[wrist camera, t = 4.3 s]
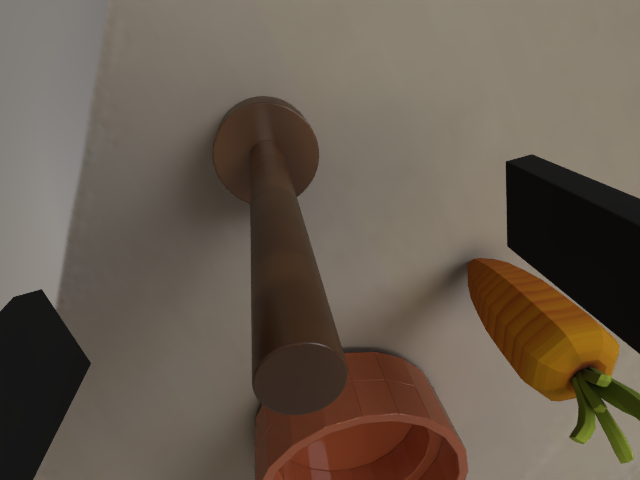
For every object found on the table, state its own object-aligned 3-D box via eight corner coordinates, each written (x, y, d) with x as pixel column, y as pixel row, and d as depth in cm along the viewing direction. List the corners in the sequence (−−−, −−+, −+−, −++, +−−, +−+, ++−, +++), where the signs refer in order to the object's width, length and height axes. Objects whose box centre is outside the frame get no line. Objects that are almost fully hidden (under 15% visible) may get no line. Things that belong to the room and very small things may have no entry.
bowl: (282, 495, 38) (288, 576, 33) (228, 379, 31) (224, 457, 25) (439, 447, 39) (473, 519, 33) (422, 323, 32) (460, 387, 26)
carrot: (485, 296, 31) (658, 485, 18) (428, 284, 30) (570, 479, 17) (516, 239, 30) (734, 404, 16) (457, 224, 28) (642, 390, 15)
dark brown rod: (234, 202, 25) (207, 509, 9) (201, 110, 22) (77, 304, 6) (322, 178, 25) (456, 434, 9) (299, 84, 23) (430, 205, 6)
